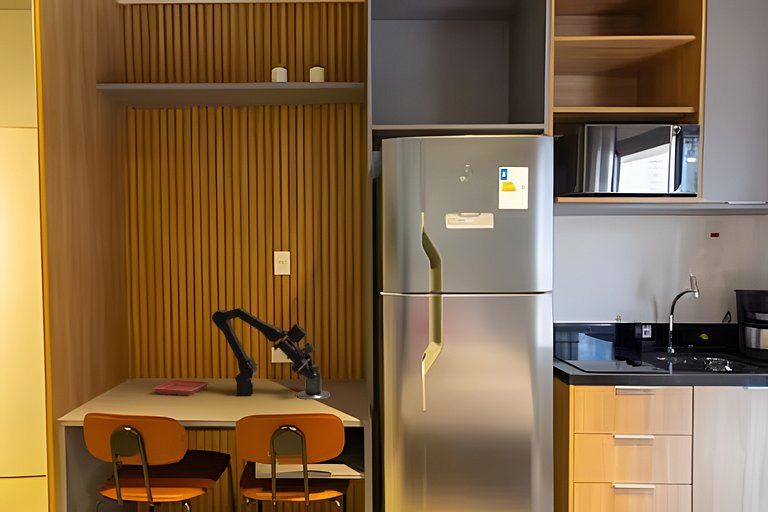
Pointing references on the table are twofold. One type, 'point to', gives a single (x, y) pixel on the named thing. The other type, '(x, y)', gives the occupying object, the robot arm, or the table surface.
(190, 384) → the plant saucer
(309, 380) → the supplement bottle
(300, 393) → the rosette plate
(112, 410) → the table surface
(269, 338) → the robot arm
